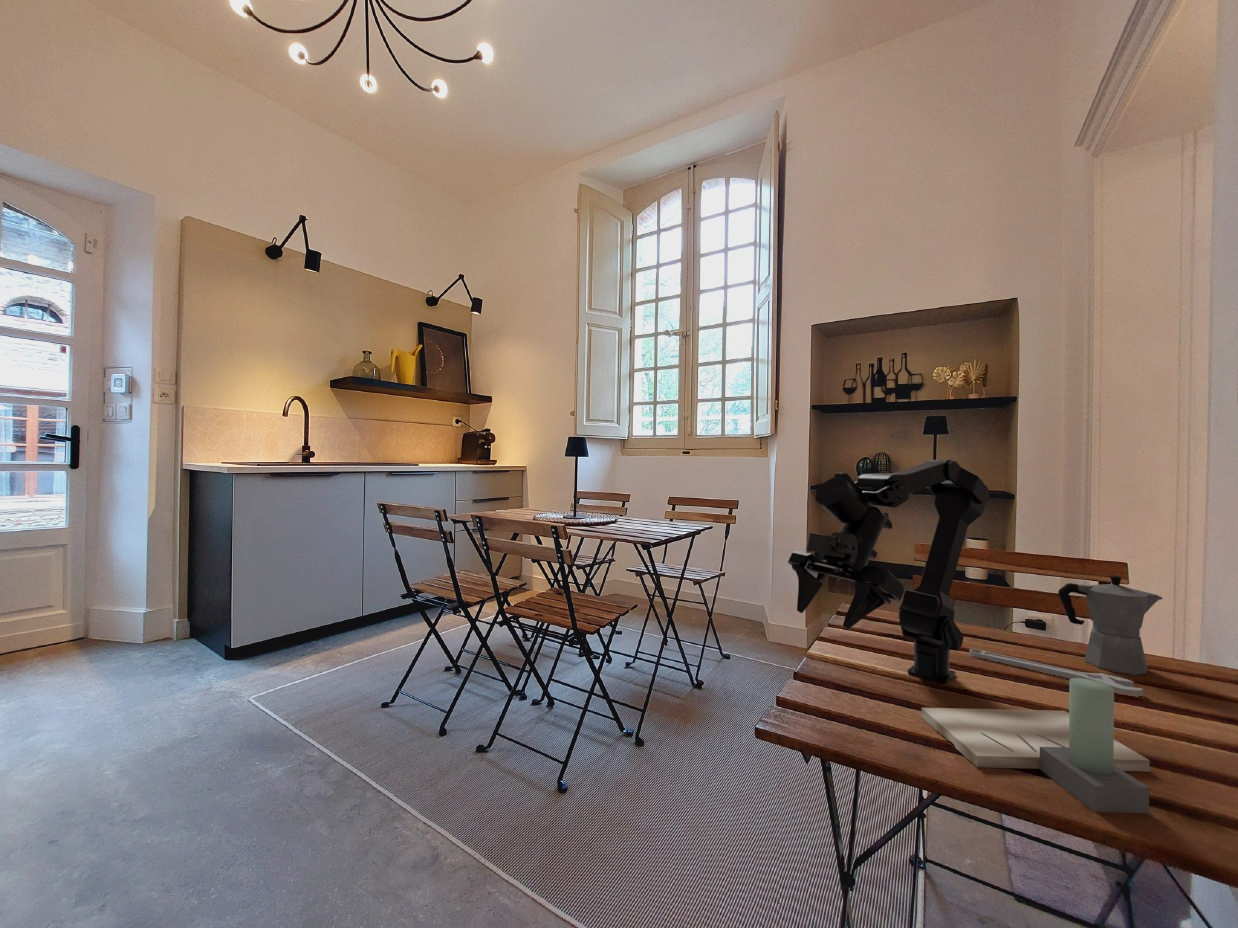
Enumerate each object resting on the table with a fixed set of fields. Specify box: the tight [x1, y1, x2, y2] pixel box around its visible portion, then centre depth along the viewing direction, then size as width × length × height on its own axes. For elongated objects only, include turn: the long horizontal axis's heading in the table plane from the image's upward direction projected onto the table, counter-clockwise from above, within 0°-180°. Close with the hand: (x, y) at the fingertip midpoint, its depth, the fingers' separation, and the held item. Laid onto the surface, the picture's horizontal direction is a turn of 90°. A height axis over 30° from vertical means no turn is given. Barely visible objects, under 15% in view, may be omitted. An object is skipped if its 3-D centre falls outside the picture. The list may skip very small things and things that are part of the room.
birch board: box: [920, 707, 1150, 773], centre depth 72 cm, size 13×22×2 cm, turn 88°
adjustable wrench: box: [969, 648, 1144, 696], centre depth 97 cm, size 25×6×2 cm, turn 39°
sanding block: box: [1039, 678, 1150, 814], centre depth 62 cm, size 6×8×13 cm
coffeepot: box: [1057, 575, 1163, 676], centre depth 100 cm, size 15×9×18 cm, turn 62°
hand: (821, 619), depth 81 cm, fingers open, 9 cm apart
